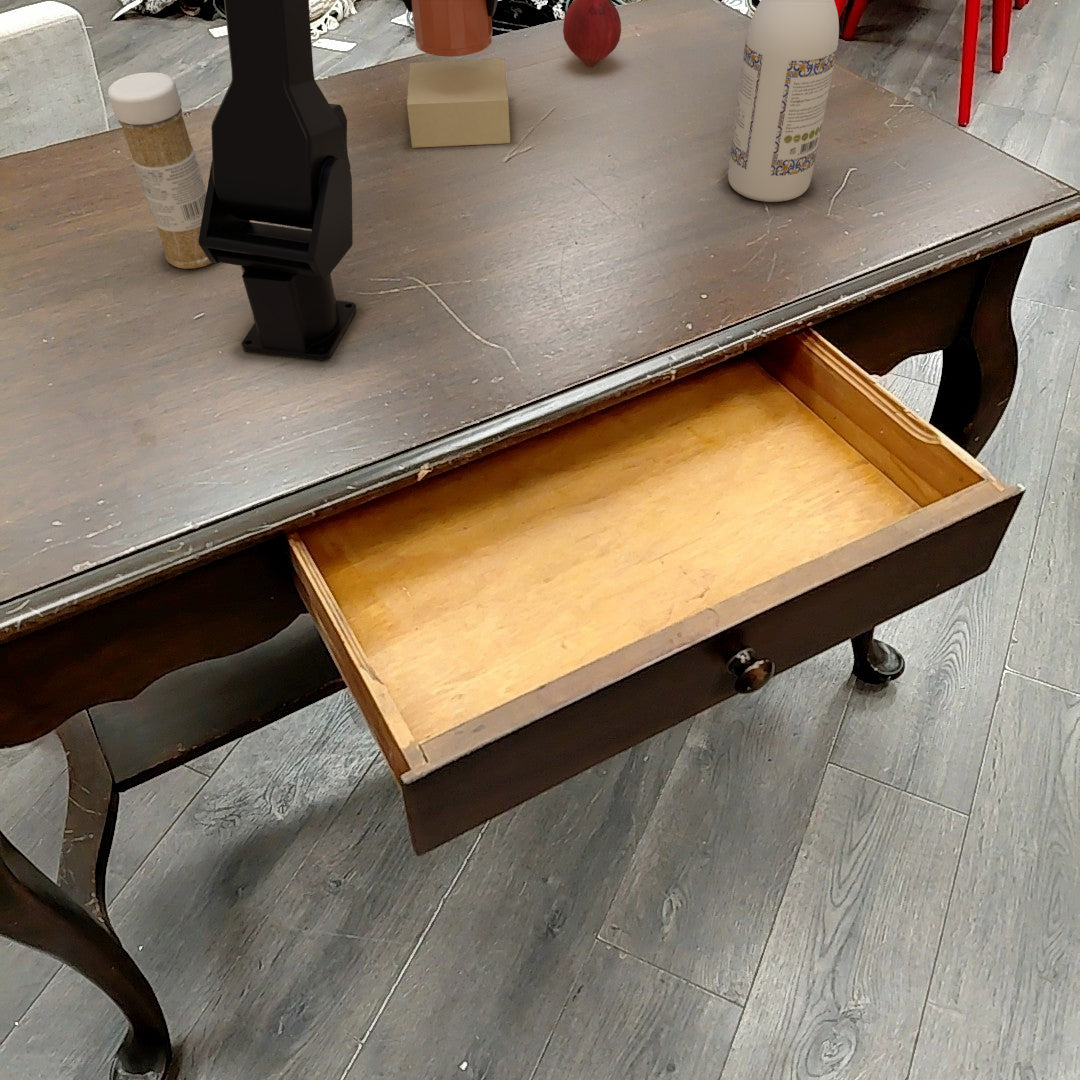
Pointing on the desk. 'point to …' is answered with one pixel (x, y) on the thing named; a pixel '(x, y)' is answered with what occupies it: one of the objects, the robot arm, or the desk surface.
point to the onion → (592, 29)
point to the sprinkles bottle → (163, 162)
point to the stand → (458, 103)
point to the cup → (451, 26)
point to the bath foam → (782, 97)
